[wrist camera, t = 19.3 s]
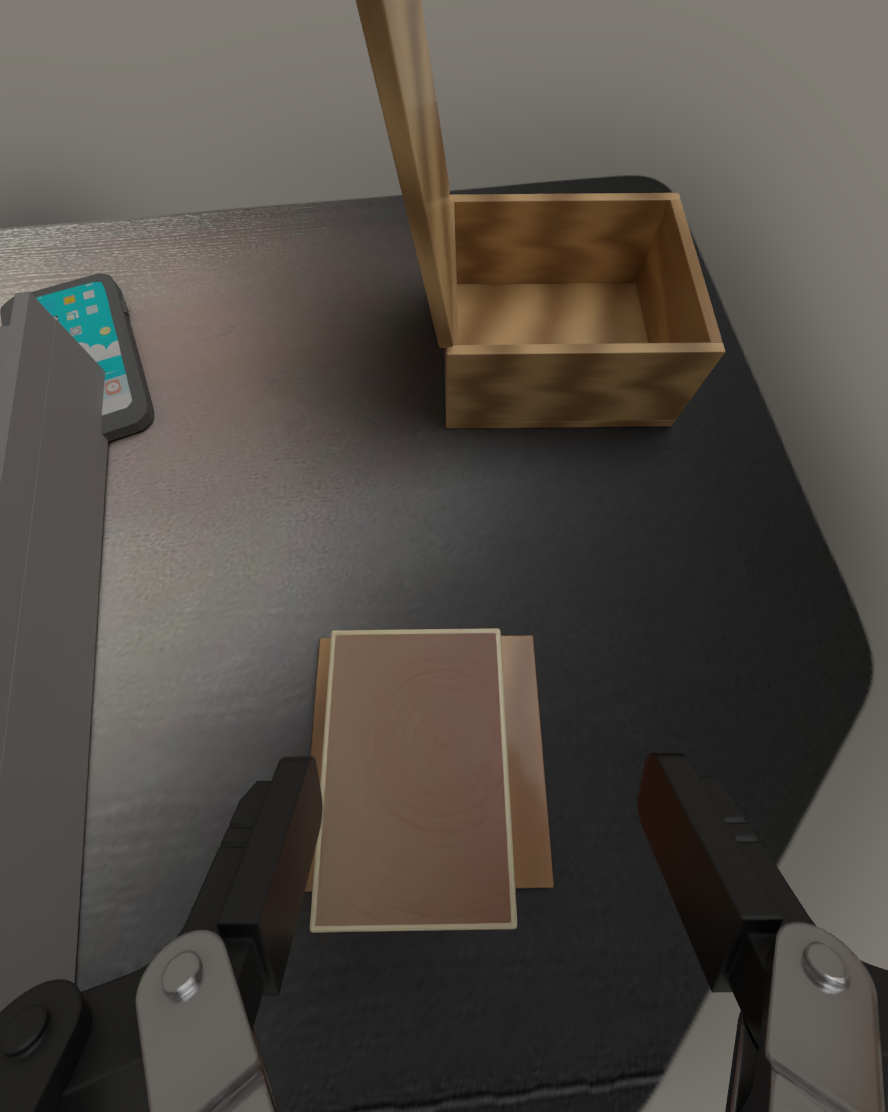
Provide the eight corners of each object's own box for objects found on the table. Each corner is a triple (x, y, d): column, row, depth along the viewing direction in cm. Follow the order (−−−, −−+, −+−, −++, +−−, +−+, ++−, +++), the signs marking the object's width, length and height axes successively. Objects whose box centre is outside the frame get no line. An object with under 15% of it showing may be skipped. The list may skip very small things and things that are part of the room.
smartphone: (16, 459, 30) (-6, 299, 35) (29, 468, 31) (6, 311, 36) (152, 415, 31) (112, 267, 36) (161, 424, 32) (120, 278, 37)
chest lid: (367, -355, 15) (344, -346, 15) (340, -213, 10) (306, -201, 11) (449, 185, 30) (437, 188, 30) (453, 347, 25) (439, 349, 26)
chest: (639, 284, 37) (679, 192, 31) (671, 426, 32) (725, 351, 26) (443, 286, 37) (443, 194, 31) (445, 429, 32) (446, 354, 26)
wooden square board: (531, 637, 27) (533, 635, 27) (551, 884, 23) (554, 888, 22) (321, 639, 27) (319, 638, 27) (302, 889, 23) (298, 892, 22)
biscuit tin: (477, 671, 26) (500, 627, 16) (484, 844, 23) (518, 930, 13) (375, 673, 26) (330, 629, 16) (369, 846, 23) (308, 933, 13)
